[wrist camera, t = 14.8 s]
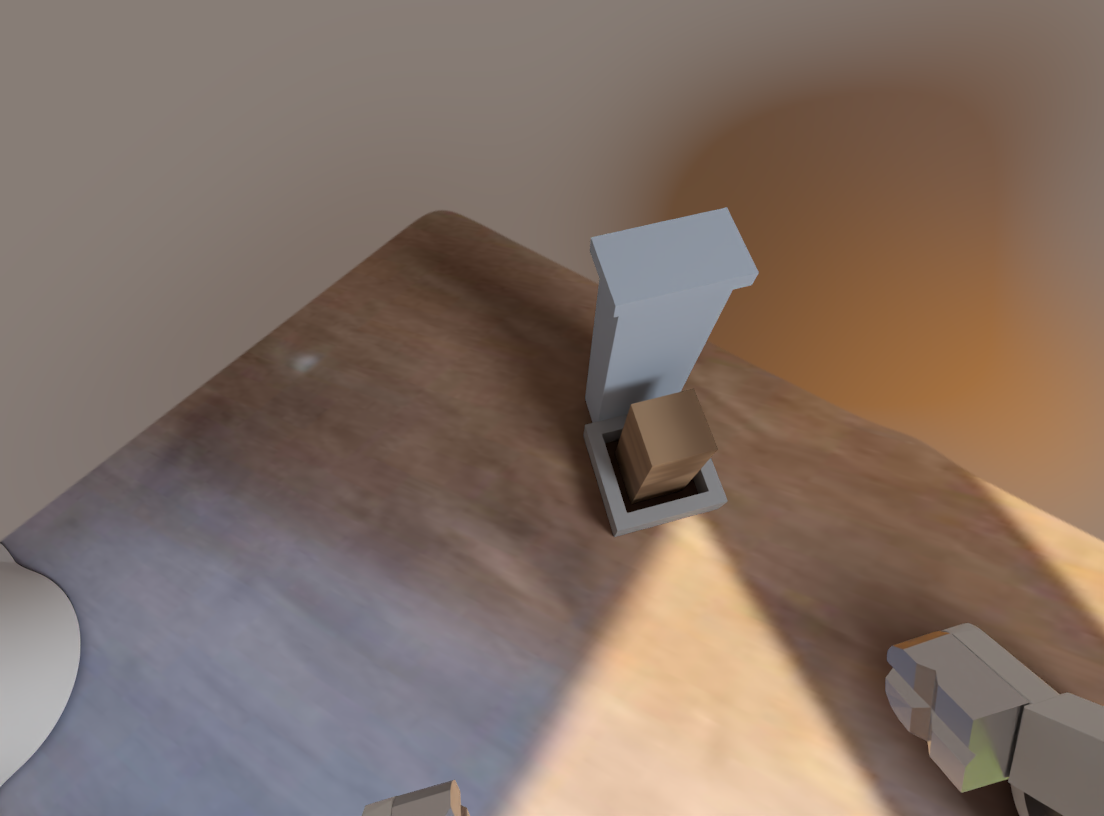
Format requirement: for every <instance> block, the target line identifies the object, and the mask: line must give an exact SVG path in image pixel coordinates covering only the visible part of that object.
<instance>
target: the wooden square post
mask: <svg viewBox="0 0 1104 816" xmlns="http://www.w3.org/2000/svg"><path fill="white" fill-rule="evenodd" d="M717 450H718V448H717V446H716V443H715V440H714V438H713V435H712V433H711V430H710V428H709V425H708V423H707V420H706V418H705V415H704V413H703V410H702V408H701V405H700V403H699V400H698V398H697V395H696V392H695V390H694V389H690V390H686V391H682V392H678V393H674V394H670V395H666V396H662V397H658V398H654V399H650V400H646V401H642V402H638V403H634V404H631V405H630V409H629V412H628V415H627V418H626V421H625V424H624V427H623V430H622V433H621V436H620V439H619V443H618V446H617V449H616V452H615V457H616V460H617V463H618V466H619V469H620V472H621V475H622V478H623V481H624V485H625V488H626V491H627V494H628V497H629V500H630V503H631V504H634V503H637V502H641V501H645V500H649V499H652V498H656V497H660V496H663V495H667V494H671V493H675V492H678V491H682V490H683V489H684V488H685V486H686V485H687V484H688V483H689V482H690V481H691V480H692V478H693V477H694V476H695V475H696V474H697V473H698V472H699V470H700V469H701V468H702V467H703V466H704V465H705V464H706V462H707V461H708V460H709V459H710V458H711V457H712V456H713V454H714V453H715V452H716V451H717Z"/></svg>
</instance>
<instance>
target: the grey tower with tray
mask: <svg viewBox="0 0 1104 816" xmlns="http://www.w3.org/2000/svg"><path fill="white" fill-rule="evenodd" d="M590 253H591V255H592V258H593V261H594V264H595V267H596V269H597V272H598V275H599V278H600V280H599V288H598V296H597V304H596V313H595V321H594V329H593V337H592V346H591V354H590V362H589V370H588V378H587V387H586V395H585V400H586V403H587V406H588V410H589V413H590V416H591V419H592V422H593V423H590V424H586V425H585V428H584V435H583V436H584V440H585V443H586V446H587V450H588V453H589V456H590V459H591V463H592V466H593V469H594V473H595V476H596V479H597V483H598V486H599V489H600V492H601V496H602V499H603V502H604V506H605V509H606V512H607V516H608V519H609V522H610V525H611V529H612V532H613V535H614V537H616V536H620V535H624V534H627V533H631V532H635V531H638V530H642V529H646V528H649V527H653V526H657V525H660V524H664V523H668V522H671V521H675V520H679V519H682V518H686V517H690V516H693V515H697V514H701V513H704V512H708V511H712V510H715V509H718V508H720V507H721V506H722V505H724V504H725V503H726V502H727V498H726V495H725V493H724V490H723V488H722V485H721V483H720V480H719V477H718V475H717V472H716V470H715V467H714V465H713V462H712V459H711V458H710V459H709V460H708V461H707V462H706V464H705V465H704V466H703V467H702V468H701V469H700V470H699V472H698V473H697V474H696V475H695V476H694V477H693V481H694V483H695V486H696V489H697V491H698V494H697V495H693V496H689V497H686V498H682V499H678V500H674V501H671V502H667V503H663V504H660V505H656V506H652V507H648V508H645V509H641V510H637V511H634V512H630V513H627V511H626V508H625V505H624V502H623V499H622V496H621V492H620V489H619V486H618V483H617V480H616V477H615V474H614V470H613V467H612V464H611V461H610V458H609V455H608V451H607V448H606V445H605V443H608V442H612V441H616V440H619V439H620V436H621V433H622V430H623V427H624V424H625V421H626V418H627V415H628V412H629V409H630V405H631V404H634V403H638V402H642V401H646V400H650V399H654V398H658V397H662V396H666V395H670V394H674V393H678V392H681V390H682V388H683V386H684V384H685V382H686V380H687V378H688V376H689V374H690V372H691V370H692V368H693V366H694V364H695V362H696V360H697V358H698V356H699V355H700V353H701V351H702V349H703V347H704V345H705V343H706V341H707V339H708V337H709V335H710V333H711V331H712V329H713V327H714V325H715V323H716V321H717V319H718V317H719V315H720V313H721V311H722V310H723V308H724V306H725V304H726V302H727V300H728V298H729V296H730V294H731V292H732V290H733V289H736V288H741V287H745V286H750V285H752V284H753V282H754V280H755V278H756V276H757V275H758V270H757V268H756V266H755V264H754V262H753V260H752V258H751V256H750V254H749V252H748V250H747V248H746V246H745V244H744V242H743V239H742V237H741V235H740V234H739V231H738V229H737V227H736V225H735V223H734V221H733V219H732V217H731V215H730V213H729V211H728V209H727V208H722V209H718V210H713V211H709V212H704V213H700V214H696V215H691V216H686V217H682V218H677V219H673V220H668V221H663V222H659V223H654V224H650V225H646V226H641V227H636V228H632V229H627V230H623V231H618V232H614V233H609V234H605V235H600V236H596V237H591V244H590Z"/></svg>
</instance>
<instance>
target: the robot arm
mask: <svg viewBox="0 0 1104 816" xmlns="http://www.w3.org/2000/svg"><path fill="white" fill-rule="evenodd" d="M79 660H80V630H79V624H78V620H77V617H76V613H75V611H74V608H73V606H72V604H71V602H70V600H69V599H68V597H67V596H66V594H65V593H64V592H63V591H62V590H61V589H60V588H59V587H58V586H57V585H56V584H55V583H54V582H52V581H51V580H50V579H48V578H46V577H45V576H43V575H41V574H38V573H36V572H33V571H31V570H28V569H26V568H24V567H22V566H20V565H18V564H17V563H16V562H15V561H14V559H13V558H12V556H11V555H10V553H9V552H8V551H7V549H6V548H5V547H4V546H3V545H2V544H1V543H0V787H1V786H2V785H3V783H4V782H5V781H6V780H7V779H9V778H10V777H11V776H12V775H13V774H14V773H15V772H16V771H17V770H18V769H19V768H20V767H21V766H22V765H23V764H24V763H25V762H26V761H27V760H28V759H29V758H30V757H31V756H32V755H33V754H34V753H35V752H36V751H37V749H38V748H39V747H40V746H41V744H42V743H43V742H44V741H45V739H46V738H47V736H48V735H49V734H50V732H51V731H52V729H53V728H54V726H55V724H56V723H57V721H58V719H59V718H60V716H61V714H62V712H63V710H64V708H65V706H66V704H67V702H68V699H69V697H70V694H71V692H72V689H73V686H74V683H75V679H76V676H77V671H78V666H79ZM887 661H888V663H889V664H890V665H891V666H892V667H893V668H892V670H891V671H890V673H889V674H888V675H887V677H886V678H885V692H886V695H887V697H888V700H889V703H890V705H891V708H892V709H893V711H894V712H895V714H896V716H897V717H898V719H899V720H900V721H901V723H902V724H903V725H904V726H905V727H906V729H907V730H908V731H909V732H910V733H912V734H914V735H916V736H918V737H920V738H922V739H924V740H926V741H927V742H928V749H929V756H930V757H931V758H932V759H933V761H934V762H935V763H936V764H937V765H938V766H939V768H940V769H941V770H942V771H943V772H944V773H945V775H946V776H947V777H948V778H949V779H950V780H951V782H952V783H953V784H954V785H955V786H956V787H957V789H958V790H959V791H960V792H961V793H963V792H966V791H969V790H973V789H976V788H980V787H983V786H986V785H990V784H993V783H996V782H1000V781H1003V780H1007V779H1009V780H1008V783H1010V784H1012V785H1013V786H1015V787H1017V788H1018V789H1020V790H1022V791H1023V792H1025V793H1027V794H1028V795H1030V796H1032V797H1033V798H1035V799H1037V800H1038V801H1040V802H1041V803H1043V804H1045V805H1046V806H1048V807H1050V808H1051V809H1053V810H1055V811H1056V812H1058V813H1060V814H1061V815H1063V816H1104V706H1101V705H1099V704H1096V703H1094V702H1091V701H1089V700H1086V699H1084V698H1081V697H1078V696H1076V695H1073V694H1071V693H1068V692H1067V693H1063V694H1059V693H1057V692H1056V691H1055V690H1054V689H1053V688H1051V687H1050V686H1049V685H1048V684H1046V683H1045V682H1044V681H1043V680H1042V679H1040V678H1039V677H1038V676H1037V675H1036V674H1034V673H1033V672H1032V671H1031V670H1029V669H1028V668H1027V667H1026V666H1025V665H1023V664H1022V663H1021V662H1020V661H1018V660H1017V659H1016V658H1015V657H1014V656H1012V655H1011V654H1010V653H1009V652H1008V651H1006V650H1005V649H1004V648H1003V647H1001V646H1000V645H999V644H998V643H997V642H995V641H994V640H993V639H992V638H991V637H989V636H988V635H987V634H986V633H984V632H983V631H982V630H981V629H980V628H978V627H977V626H975V625H972V624H970V623H964V624H960V625H957V626H954V627H951V628H948V629H945V630H942V631H935V632H932V633H929V634H926V635H923V636H920V637H917V638H914V639H911V640H908V641H904V642H901V643H898V644H895V645H892V646H891V647H890V648H889V650H888V652H887ZM362 816H470V815H469V812H468V810H467V808H466V807H464V806H462V805H461V802H460V790H459V788H458V786H457V783H456V781H455V780H452V781H448V782H445V783H441V784H438V785H434V786H431V787H428V788H424V789H421V790H417V791H414V792H410V793H407V794H403V795H400V796H395V797H392V798H388V799H385V800H382V801H379V802H375V803H372V804H369V805H366V806H365V809H364V811H363V814H362Z"/></svg>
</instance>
